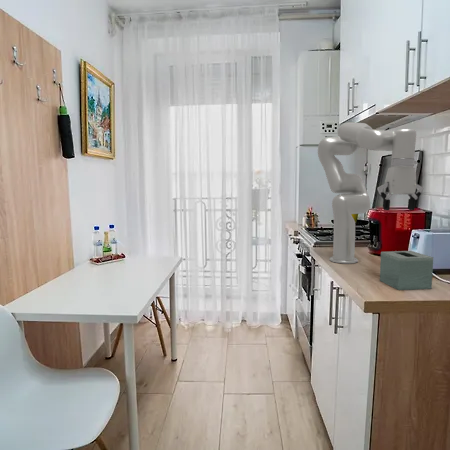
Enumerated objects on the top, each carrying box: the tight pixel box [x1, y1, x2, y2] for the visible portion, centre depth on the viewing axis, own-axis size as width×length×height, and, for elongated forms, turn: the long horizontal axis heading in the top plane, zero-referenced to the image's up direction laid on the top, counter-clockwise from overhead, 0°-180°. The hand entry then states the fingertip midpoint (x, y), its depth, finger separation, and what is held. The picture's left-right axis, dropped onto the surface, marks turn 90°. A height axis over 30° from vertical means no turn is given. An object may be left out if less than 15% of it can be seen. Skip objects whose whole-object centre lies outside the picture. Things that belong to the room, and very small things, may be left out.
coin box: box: [379, 250, 434, 291], centre depth 125 cm, size 12×12×11 cm
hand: (398, 209), depth 131 cm, fingers open, 9 cm apart
